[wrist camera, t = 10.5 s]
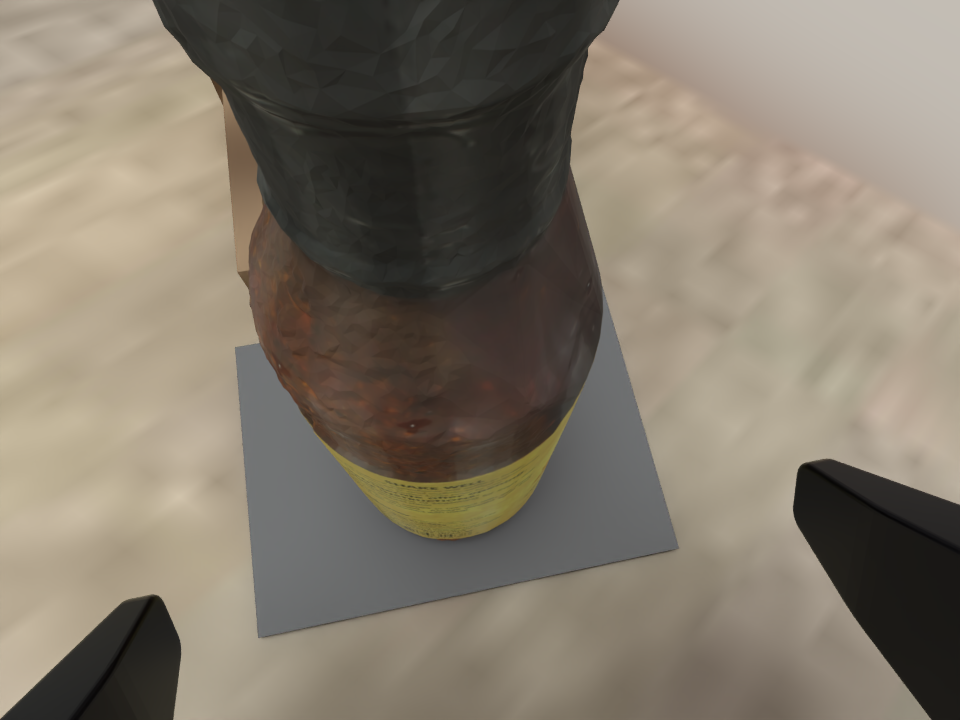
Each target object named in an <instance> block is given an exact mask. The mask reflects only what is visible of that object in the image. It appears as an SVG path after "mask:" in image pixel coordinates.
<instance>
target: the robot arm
mask: <svg viewBox="0 0 960 720" xmlns="http://www.w3.org/2000/svg"><path fill="white" fill-rule="evenodd" d="M793 513H794V518H795V521H796V523H797V525H798V527H799V529H800V531H801V532H802V534H803V535H804V537H805V539H806V540H807V542H808V544H809V545H810V547H811V549H812V550H813V552H814V553H815V555H816V557H817V558H818V560H819V562H820V563H821V565H822V566H823V568H824V570H825V571H826V573H827V575H828V576H829V578H830V579H831V581H832V583H833V584H834V586H835V588H836V589H837V591H838V593H839V594H840V596H841V597H842V599H843V601H844V602H845V604H846V605H847V607H848V608H849V610H850V611H851V613H852V614H853V616H854V617H855V619H856V620H857V621H858V623H859V624H860V626H861V627H862V628H863V630H864V631H865V633H866V634H867V635H868V636H869V638H870V639H871V640H872V642H873V643H874V644H875V646H876V647H877V648H878V650H879V651H880V652H881V654H882V655H883V656H884V658H885V659H886V660H887V662H888V663H889V664H890V666H891V667H892V668H893V669H894V671H895V672H896V673H897V675H898V676H899V677H900V679H901V680H902V681H903V683H904V684H905V685H906V687H907V688H908V689H909V691H910V692H911V693H912V695H913V696H914V697H915V699H916V700H917V701H918V702H919V704H920V705H921V706H922V708H923V709H924V710H925V712H926V713H927V714H928V716H929V717H930V718H931V720H960V505H959V504H956V503H953V502H950V501H947V500H945V499H942V498H939V497H936V496H933V495H931V494H928V493H925V492H922V491H919V490H917V489H914V488H911V487H908V486H905V485H903V484H900V483H897V482H894V481H891V480H889V479H886V478H883V477H880V476H877V475H875V474H872V473H869V472H866V471H863V470H861V469H858V468H855V467H852V466H849V465H847V464H844V463H841V462H838V461H835V460H832V459H821V460H816V461H811V462H806V463H804V464H802V465H801V466H800V467H799V469H798V472H797V479H796V487H795V496H794V504H793ZM180 661H181V643H180V639H179V636H178V634H177V631H176V629H175V627H174V624H173V622H172V620H171V618H170V615H169V613H168V611H167V608H166V606H165V604H164V602H163V600H162V599H161V598H160V597H159V596H157V595H147V596H142V597H137V598H132V599H128V600H126V601H124V602H122V603H121V604H120V605H119V606H118V607H117V608H115V609H114V610H113V611H112V612H111V613H110V614H109V615H108V616H107V617H106V618H105V619H104V620H103V621H102V622H101V623H100V624H99V625H98V626H97V627H96V628H95V629H94V630H93V631H91V632H90V633H89V634H88V635H87V636H86V637H85V638H84V639H83V640H82V641H81V642H80V643H79V644H78V645H77V646H76V647H75V648H74V649H73V650H72V651H71V652H70V653H69V654H68V655H66V656H65V657H64V658H63V659H62V660H61V661H60V662H59V663H58V664H57V665H56V666H55V667H54V668H53V669H52V670H51V671H50V672H49V673H48V674H47V675H46V676H45V677H44V678H42V679H41V680H40V681H39V682H38V683H37V684H36V685H35V686H34V687H33V688H32V689H31V690H30V691H29V692H28V693H27V694H26V695H25V696H24V697H23V698H22V699H21V700H20V701H19V702H17V703H16V704H15V705H14V706H13V707H12V708H11V709H10V710H9V711H8V712H7V713H6V714H5V715H4V716H3V717H2V718H1V719H0V720H173V717H174V709H175V701H176V693H177V685H178V677H179V669H180Z"/></svg>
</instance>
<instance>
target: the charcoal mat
mask: <svg viewBox="0 0 960 720" xmlns="http://www.w3.org/2000/svg"><path fill="white" fill-rule="evenodd" d="M602 292H603V317H602V325H601V334H600V339H599V343H598V347H597V351H596V355H595V358H594V362H593V364H592V367H591V369H590V372H589V374H588V377H587V379H586V382H585V384H584V387H583V389H582V391H581V393H580V395H579V398H578V400H577V402H576V404H575V407H574V409H573V411H572V413H571V415H570V417H569V420H568V422H567V424H566V426H565V428H564V430H563V432H562V434H561V436H560V438H559V441H558V443H557V445H556V447H555V449H554V451H553V453H552V455H551V457H550V459H549V461H548V464H547V466H546V468H545V470H544V473H543V474H542V476H541V478H540V480H539V482H538V484H537V486H536V488H535V490H534V492H533V493H532V495H531V496H530V498H529V499H528V500H527V502H526V503H525V504H524V505H523V507H522V508H521V509H520V510H519V511H518V512H517V513H516V514H515V515H513V516H512V517H511V518H510V519H509V520H507V521H505V522H504V523H502V524H500V525H498V526H497V527H495V528H493V529H491V530H490V531H487V532H485V533H482V534H478V535H475V536H471V537H467V538H461V539H459V540H456V541H451V540H443V541H441V540H437V539H432V538H426V537H422V536H419V535H417V534H414V533H412V532H410V531H407V530H405V529H404V528H402V527H400V526H399V525H397V524H395V523H393V522H392V521H391V520H390V519H388V518H387V517H386V516H385V515H384V514H382V513H381V512H380V511H379V510H378V508H377V507H376V506H375V505H374V504H373V503H372V502H371V501H370V500H369V499H368V497H367V496H366V495H365V494H364V493H363V492H362V490H361V489H360V488H359V487H358V485H357V484H356V483H355V482H354V480H353V479H352V478H351V477H350V476H349V474H348V473H347V472H346V470H345V469H344V468H343V467H342V466H341V464H340V463H339V462H338V461H337V460H336V458H335V457H334V456H333V455H332V454H331V452H330V451H329V450H328V449H327V448H326V446H325V445H324V444H323V443H322V442H321V440H320V439H319V438H318V437H317V435H316V434H315V433H314V431H313V428H312V427H311V426H310V424H309V423H308V422H307V420H306V419H305V418H304V416H303V415H302V414H301V412H300V410H299V408H298V406H297V404H296V403H295V402H294V400H293V398H292V397H291V395H290V394H289V392H288V391H287V390H286V389H284V388H283V386H282V385H281V383H280V381H279V379H278V377H277V374H276V372H275V370H274V369H273V367H272V366H271V364H270V363H269V361H268V360H267V359H266V356H265V353H264V351H263V349H262V347H261V345H260V343H258V344H252V345H246V346H240V347H235V352H236V364H237V377H238V389H239V402H240V415H241V427H242V440H243V452H244V465H245V477H246V490H247V502H248V515H249V527H250V540H251V553H252V565H253V578H254V590H255V603H256V615H257V628H258V638H260V637H265V636H270V635H275V634H279V633H284V632H289V631H293V630H298V629H303V628H307V627H312V626H317V625H321V624H326V623H331V622H336V621H340V620H345V619H350V618H354V617H359V616H364V615H368V614H373V613H378V612H382V611H387V610H392V609H397V608H401V607H406V606H411V605H415V604H420V603H425V602H429V601H434V600H439V599H443V598H448V597H453V596H457V595H462V594H467V593H472V592H476V591H481V590H486V589H490V588H495V587H500V586H504V585H509V584H514V583H518V582H523V581H528V580H533V579H537V578H542V577H547V576H551V575H556V574H561V573H565V572H570V571H575V570H579V569H584V568H589V567H594V566H598V565H603V564H608V563H612V562H617V561H622V560H626V559H631V558H636V557H640V556H645V555H650V554H655V553H659V552H664V551H669V550H673V549H678V548H679V547H678V543H677V540H676V536H675V533H674V529H673V526H672V523H671V519H670V516H669V512H668V509H667V506H666V502H665V499H664V495H663V492H662V488H661V485H660V482H659V478H658V475H657V471H656V468H655V465H654V461H653V458H652V454H651V451H650V447H649V444H648V441H647V437H646V434H645V430H644V427H643V424H642V420H641V417H640V413H639V410H638V406H637V403H636V400H635V396H634V393H633V389H632V386H631V383H630V379H629V376H628V372H627V369H626V365H625V362H624V359H623V355H622V352H621V348H620V345H619V341H618V338H617V335H616V331H615V328H614V324H613V321H612V318H611V314H610V311H609V307H608V304H607V300H606V297H605V294H604V290H603V287H602Z"/></svg>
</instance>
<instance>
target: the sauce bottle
mask: <svg viewBox="0 0 960 720" xmlns="http://www.w3.org/2000/svg"><path fill="white" fill-rule="evenodd" d="M153 2H154V5H155V7H156V9H157V11H158V14H159V16H160V18H161V20H162V23H163V25H164V27H165V28H166V29H167V30H168V31H169V32H170V33H171V34H172V35H173V36H174V38H175V39H176V40H177V41H178V42H179V43H180V44H181V46H182V47H183V49H184V50H185V52H186V53H187V55H188V56H189V58H190V59H191V61H192V62H193V63H194V64H195V65H197V66H198V67H199V68H200V69H201V70H202V71H203V72H204V73H206V74H207V75H208V76H209V77H210V78H211V79H213V80H214V81H215V82H216V83H217V84H218V85H220V86H221V88H222V90H223V91H224V93H225V95H226V97H227V100H228V102H229V105H230V107H231V109H232V112H233V114H234V116H235V119H236V121H237V123H238V125H239V127H240V129H241V131H242V133H243V135H244V137H245V138H246V141H247V143H248V145H249V148H250V150H251V152H252V155H253V157H254V159H255V161H256V163H257V164H258V168H257V180H256V181H257V184H258V186H259V189H260V192H261V195H262V198H263V201H264V206H263V209H262V211H261V214H260V216H259V218H258V220H257V222H256V224H255V227H254V229H253V231H252V234H251V240H250V244H249V260H248V263H249V271H248V274H249V282H248V283H249V294H250V307H251V309H252V312H253V318H254V323H255V328H256V332H257V334H258V336H259V342H260V345H261V347H262V349H263V351H264V353H265V356H266V359H267V360H268V361H269V363H270V364H271V366H272V367H273V369H274V370H275V372H276V374H277V377H278V379H279V381H280V383H281V385H282V386H283V388H284V389H286V390H287V391H288V392H289V394H290V395H291V397H292V398H293V400H294V402H295V403H296V404H297V406H298V408H299V410H300V412H301V414H302V415H303V416H304V418H305V419H306V420H307V422H308V423H309V424H310V426H311V427H312V428H313V431H314V433H315V434H316V435H317V437H318V438H319V439H320V440H321V442H322V443H323V444H324V445H325V446H326V448H327V449H328V450H329V451H330V452H331V454H332V455H333V456H334V457H335V458H336V460H337V461H338V462H339V463H340V464H341V466H342V467H343V468H344V469H345V470H346V472H347V473H348V474H349V476H350V477H351V478H352V479H353V480H354V482H355V483H356V484H357V485H358V487H359V488H360V489H361V490H362V492H363V493H364V494H365V495H366V496H367V497H368V499H369V500H370V501H371V502H372V503H373V504H374V505H375V506H376V507H377V508H378V510H379V511H380V512H381V513H382V514H384V515H385V516H386V517H387V518H388V519H390V520H391V521H392V522H393V523H395V524H397V525H399V526H400V527H402V528H404V529H405V530H407V531H410V532H412V533H414V534H417V535H419V536H422V537H426V538H432V539H437V540H441V541H443V540H451V541H456V540H459V539H461V538H467V537H471V536H475V535H478V534H482V533H485V532H487V531H490V530H491V529H493V528H495V527H497V526H498V525H500V524H502V523H504V522H505V521H507V520H509V519H510V518H511V517H512V516H513V515H515V514H516V513H517V512H518V511H519V510H520V509H521V508H522V507H523V505H524V504H525V503H526V502H527V500H528V499H529V498H530V496H531V495H532V493H533V492H534V490H535V488H536V486H537V484H538V482H539V480H540V478H541V476H542V474H543V473H544V470H545V468H546V466H547V464H548V461H549V459H550V457H551V455H552V453H553V451H554V449H555V447H556V445H557V443H558V441H559V438H560V436H561V434H562V432H563V430H564V428H565V426H566V424H567V422H568V420H569V417H570V415H571V413H572V411H573V409H574V407H575V404H576V402H577V400H578V398H579V395H580V393H581V391H582V389H583V387H584V384H585V382H586V379H587V377H588V374H589V372H590V369H591V367H592V364H593V362H594V358H595V355H596V351H597V347H598V343H599V339H600V334H601V325H602V317H603V292H602V283H601V277H600V272H599V268H598V264H597V260H596V257H595V253H594V249H593V246H592V242H591V238H590V235H589V231H588V228H587V224H586V220H585V217H584V213H583V210H582V206H581V202H580V199H579V195H578V192H577V188H576V185H575V181H574V177H573V174H572V170H571V167H570V156H571V142H572V140H571V129H572V124H573V120H574V114H575V109H576V104H577V99H578V94H579V89H580V85H581V82H582V79H583V71H584V66H585V63H586V60H587V57H588V47H589V46H590V44H591V43H592V42H593V40H594V39H595V38H596V37H597V36H598V35H599V34H600V33H601V32H602V31H604V29H605V28H606V26H607V24H608V22H609V20H610V18H611V16H612V14H613V12H614V10H615V8H616V6H617V4H618V2H619V0H153Z"/></svg>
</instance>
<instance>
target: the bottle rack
mask: <svg viewBox="0 0 960 720" xmlns="http://www.w3.org/2000/svg"><path fill="white" fill-rule="evenodd" d="M211 80H212V83H213V85H214V87H215V89H216V91H217V93H218V95H219V98H220V100H221V102H222V104H223V107H224V119H225V131H226V142H227V154H228V166H229V178H230V190H231V202H232V213H233V225H234V237H235V249H236V261H237V272H238V274H239V275H240V277H241V278H242V280H243V281H244V283H245V284H246V286H247V287H248V289H249V283H248V282H249V274H248V271H249V263H248V260H249V244H250V240H251V234H252V231H253V229H254V227H255V224H256V222H257V220H258V218H259V216H260V214H261V211H262V209H263V206H264V201H263V198H262V195H261V192H260V189H259V186H258V184H257V181H256V180H257V168H258V164H257V163H256V161H255V159H254V157H253V155H252V152H251V150H250V148H249V145H248V143H247V141H246V138H245V137H244V135H243V133H242V131H241V129H240V127H239V125H238V123H237V121H236V119H235V116H234V114H233V112H232V109H231V107H230V105H229V102H228V100H227V97H226V95H225V93H224V91H223V90H222V88H221V86H220V85H218V84H217V83H216V82H215V81H214V80H213V79H211Z"/></svg>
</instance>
